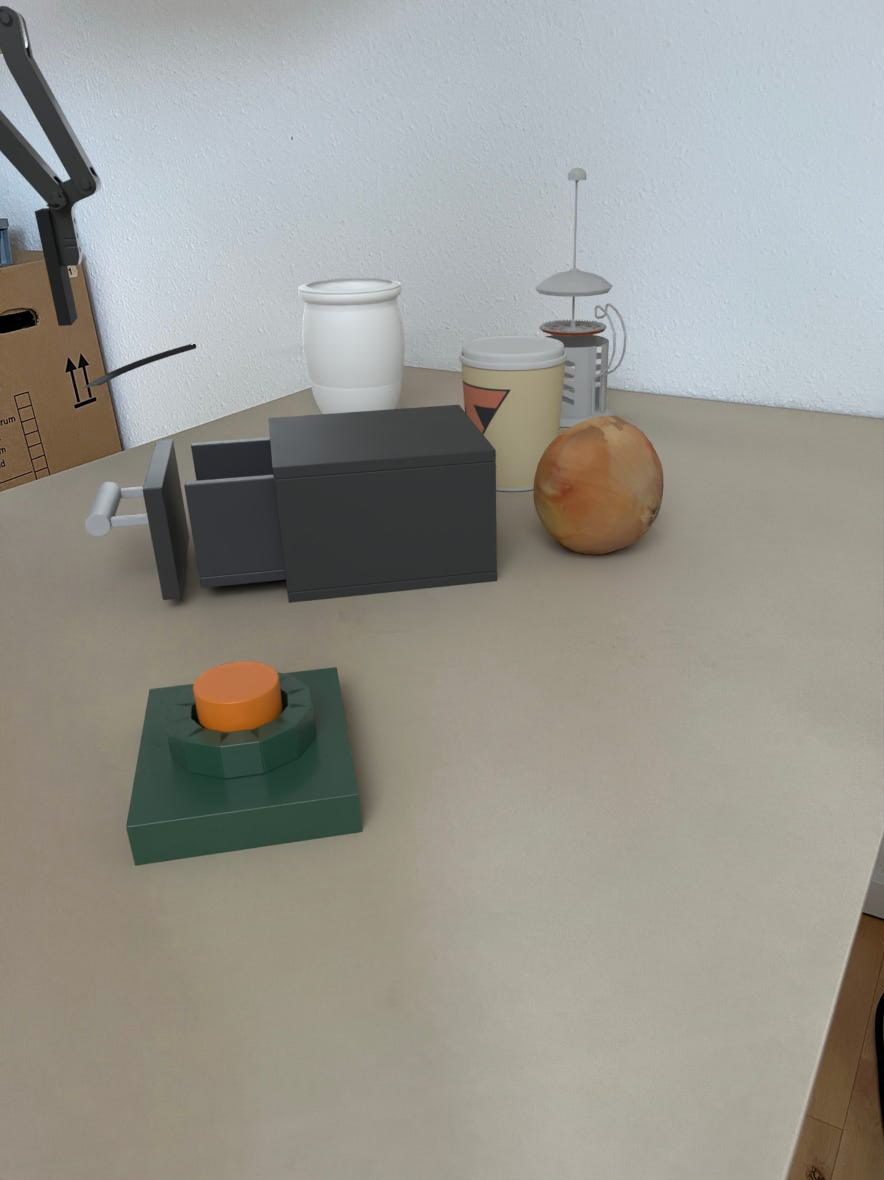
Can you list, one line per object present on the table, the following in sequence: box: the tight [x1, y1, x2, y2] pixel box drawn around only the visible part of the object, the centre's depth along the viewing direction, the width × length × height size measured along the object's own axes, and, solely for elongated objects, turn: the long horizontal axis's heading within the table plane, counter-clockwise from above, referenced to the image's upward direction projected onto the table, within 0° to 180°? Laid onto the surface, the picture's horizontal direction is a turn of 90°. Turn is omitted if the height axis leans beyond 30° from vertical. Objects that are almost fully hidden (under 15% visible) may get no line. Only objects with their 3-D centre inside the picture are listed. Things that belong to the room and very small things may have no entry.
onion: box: [532, 415, 665, 556], centre depth 72 cm, size 10×10×10 cm
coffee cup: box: [458, 334, 567, 492], centre depth 87 cm, size 9×9×12 cm
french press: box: [535, 166, 627, 428], centre depth 102 cm, size 10×12×25 cm
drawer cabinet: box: [267, 404, 498, 604], centre depth 71 cm, size 15×13×10 cm
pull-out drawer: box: [84, 436, 286, 601], centre depth 69 cm, size 18×11×8 cm, turn 102°
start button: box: [193, 660, 283, 732], centre depth 47 cm, size 4×4×2 cm
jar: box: [296, 277, 406, 414], centre depth 101 cm, size 11×10×15 cm
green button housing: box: [125, 666, 363, 867], centre depth 48 cm, size 12×10×4 cm
